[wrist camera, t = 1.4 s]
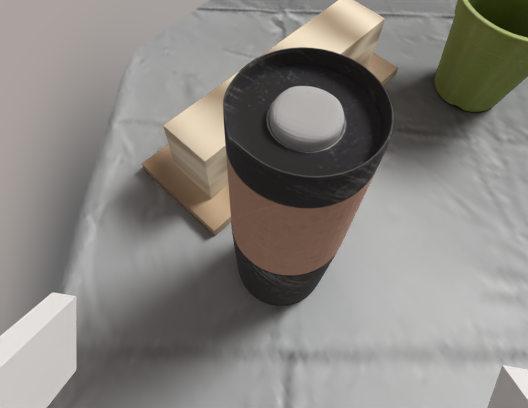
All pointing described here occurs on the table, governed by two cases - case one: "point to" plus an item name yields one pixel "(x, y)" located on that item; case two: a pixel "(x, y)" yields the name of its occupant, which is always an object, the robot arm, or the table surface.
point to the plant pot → (484, 53)
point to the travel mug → (299, 163)
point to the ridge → (211, 115)
